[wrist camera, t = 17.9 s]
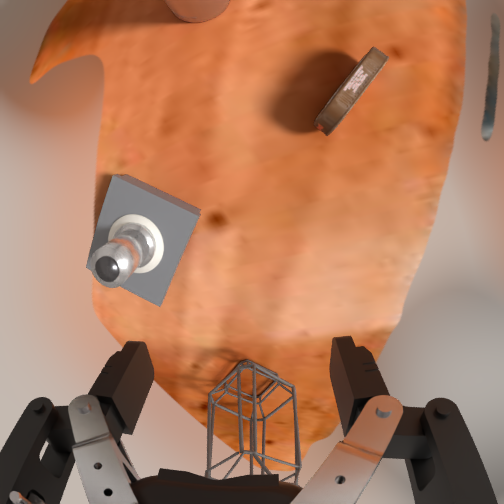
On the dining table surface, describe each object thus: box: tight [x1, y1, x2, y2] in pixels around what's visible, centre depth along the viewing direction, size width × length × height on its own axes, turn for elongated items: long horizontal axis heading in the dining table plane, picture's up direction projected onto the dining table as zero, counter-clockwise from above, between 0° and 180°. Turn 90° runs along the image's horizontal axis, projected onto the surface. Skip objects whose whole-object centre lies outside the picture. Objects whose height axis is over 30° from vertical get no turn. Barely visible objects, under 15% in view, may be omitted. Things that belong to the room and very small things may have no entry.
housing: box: [90, 222, 156, 288], centre depth 37 cm, size 7×7×10 cm
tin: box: [314, 47, 389, 136], centre depth 34 cm, size 15×3×8 cm, turn 145°
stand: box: [86, 174, 201, 307], centre depth 44 cm, size 16×14×4 cm
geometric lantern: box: [205, 359, 302, 488], centre depth 39 cm, size 16×16×35 cm
